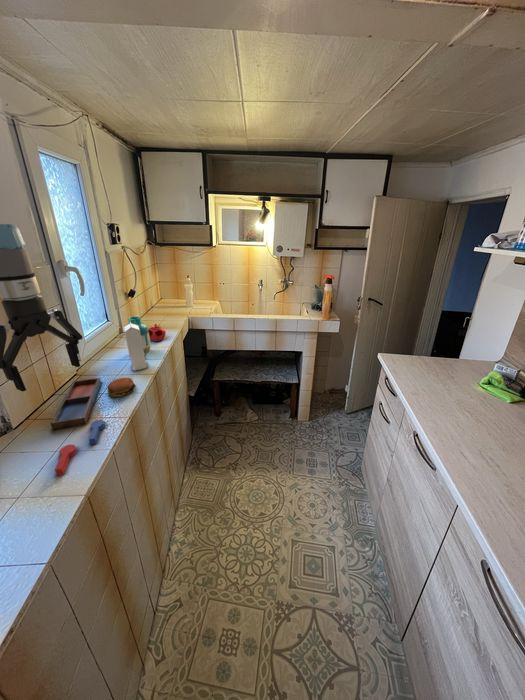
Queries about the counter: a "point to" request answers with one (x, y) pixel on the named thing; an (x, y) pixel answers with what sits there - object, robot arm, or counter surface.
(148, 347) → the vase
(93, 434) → the blue spoon
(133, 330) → the milk
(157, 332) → the pomegranate
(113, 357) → the counter surface
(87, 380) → the tray
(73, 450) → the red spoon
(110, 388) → the burger
